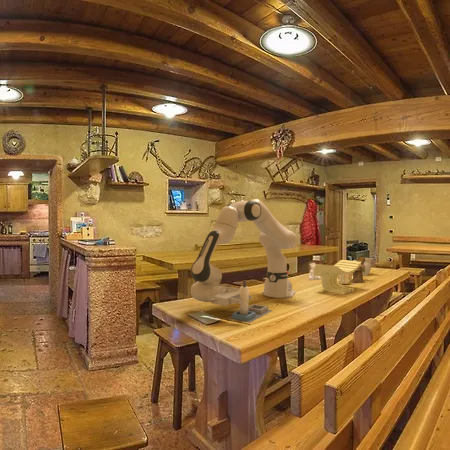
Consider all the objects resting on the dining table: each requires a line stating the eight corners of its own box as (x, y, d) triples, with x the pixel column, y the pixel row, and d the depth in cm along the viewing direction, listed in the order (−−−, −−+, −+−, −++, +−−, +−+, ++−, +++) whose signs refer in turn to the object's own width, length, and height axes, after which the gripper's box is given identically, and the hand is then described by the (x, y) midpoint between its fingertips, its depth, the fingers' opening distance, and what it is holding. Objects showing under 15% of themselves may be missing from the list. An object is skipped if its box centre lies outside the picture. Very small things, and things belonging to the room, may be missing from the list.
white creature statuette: (309, 280, 269) (309, 263, 268) (304, 278, 277) (305, 262, 277) (321, 279, 270) (322, 263, 270) (316, 277, 279) (316, 261, 278)
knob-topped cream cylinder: (242, 315, 172) (242, 278, 171) (249, 317, 170) (250, 279, 169) (237, 317, 169) (238, 280, 168) (245, 319, 167) (246, 281, 166)
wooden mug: (367, 281, 268) (368, 256, 268) (360, 283, 258) (361, 258, 257) (355, 279, 274) (356, 255, 274) (348, 281, 264) (349, 256, 263)
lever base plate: (251, 308, 188) (251, 302, 188) (273, 312, 182) (273, 306, 182) (226, 320, 168) (226, 313, 168) (249, 324, 161) (249, 318, 161)
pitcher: (354, 272, 306) (354, 255, 305) (376, 275, 293) (376, 258, 293) (348, 273, 298) (348, 256, 297) (370, 277, 285) (371, 259, 285)
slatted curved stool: (337, 285, 251) (338, 259, 250) (360, 289, 239) (361, 261, 239) (313, 291, 230) (314, 263, 229) (337, 296, 218) (337, 266, 218)
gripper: (208, 292, 167) (234, 296, 160) (231, 285, 184) (256, 288, 177) (207, 306, 167) (234, 311, 160) (231, 297, 184) (256, 301, 177)
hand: (246, 299), depth 168 cm, fingers open, 8 cm apart
